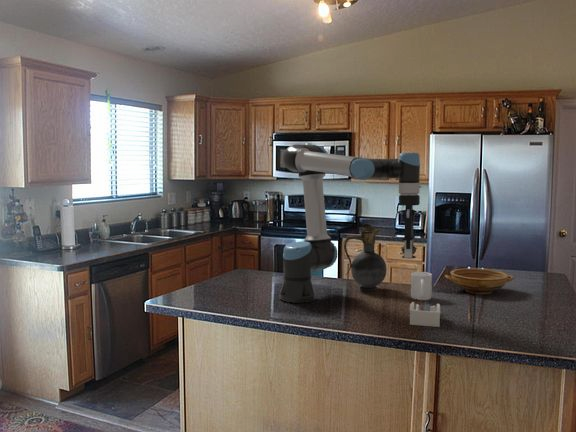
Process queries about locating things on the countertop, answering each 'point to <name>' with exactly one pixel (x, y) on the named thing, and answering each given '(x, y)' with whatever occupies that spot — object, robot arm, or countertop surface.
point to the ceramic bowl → (479, 279)
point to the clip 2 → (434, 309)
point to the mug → (421, 285)
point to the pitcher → (367, 261)
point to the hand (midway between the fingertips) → (408, 256)
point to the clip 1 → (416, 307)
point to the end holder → (424, 317)
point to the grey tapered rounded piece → (412, 247)
